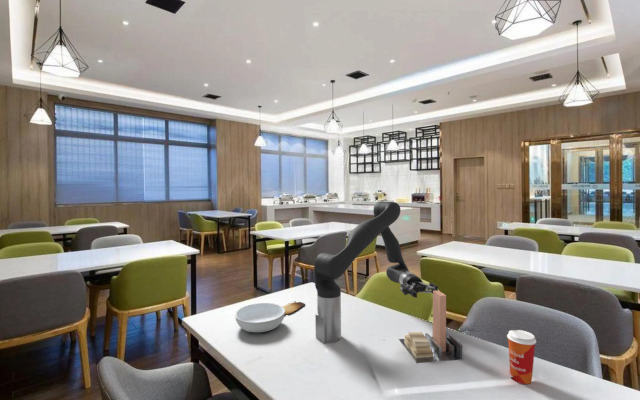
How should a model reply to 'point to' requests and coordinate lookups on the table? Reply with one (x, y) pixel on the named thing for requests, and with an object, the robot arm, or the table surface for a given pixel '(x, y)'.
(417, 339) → the offcut stack
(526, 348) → the paper cup
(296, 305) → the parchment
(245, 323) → the serving bowl
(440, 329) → the pink rectangular bar
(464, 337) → the table surface
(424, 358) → the rack
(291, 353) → the table surface
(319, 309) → the robot arm
